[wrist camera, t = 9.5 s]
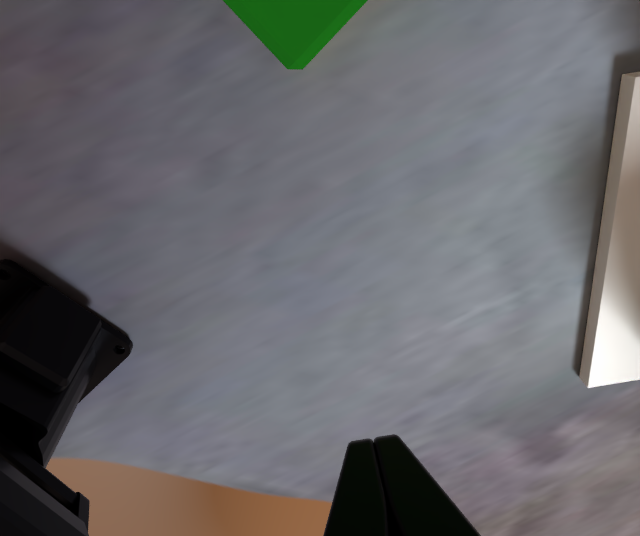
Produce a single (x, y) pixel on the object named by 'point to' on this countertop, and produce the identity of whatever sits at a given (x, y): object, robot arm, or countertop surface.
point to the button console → (618, 256)
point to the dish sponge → (295, 25)
